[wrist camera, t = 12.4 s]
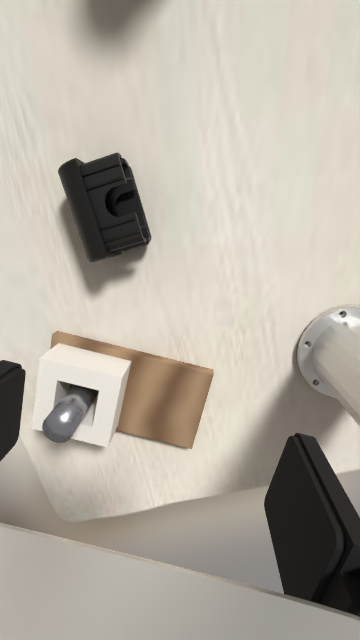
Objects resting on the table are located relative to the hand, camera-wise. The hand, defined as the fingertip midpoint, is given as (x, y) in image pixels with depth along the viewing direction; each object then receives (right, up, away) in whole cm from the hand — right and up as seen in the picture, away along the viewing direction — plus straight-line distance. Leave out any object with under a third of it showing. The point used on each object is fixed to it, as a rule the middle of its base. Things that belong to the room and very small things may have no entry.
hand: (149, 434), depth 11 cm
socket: (-11, -5, +32) cm, 34 cm away
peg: (-12, -5, +32) cm, 34 cm away
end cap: (-7, +17, +28) cm, 33 cm away
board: (-7, -6, +33) cm, 35 cm away
